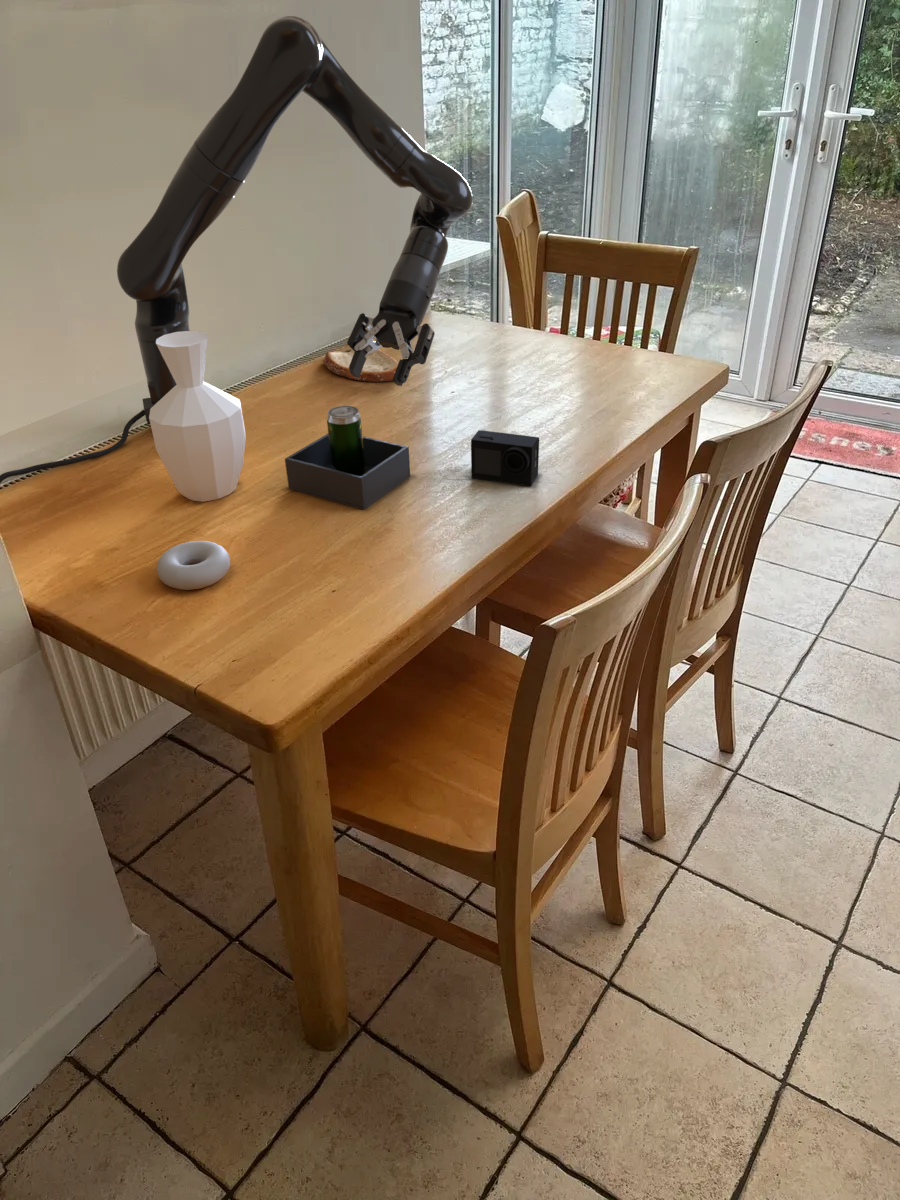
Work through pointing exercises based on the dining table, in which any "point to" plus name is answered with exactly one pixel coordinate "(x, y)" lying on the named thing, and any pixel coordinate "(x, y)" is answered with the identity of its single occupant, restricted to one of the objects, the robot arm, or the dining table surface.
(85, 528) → the dining table surface
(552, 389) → the dining table surface
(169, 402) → the vase
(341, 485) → the open rectangular tray
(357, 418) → the beer can
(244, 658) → the dining table surface
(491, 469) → the digital camera
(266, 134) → the robot arm
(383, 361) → the bread slice
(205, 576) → the donut
